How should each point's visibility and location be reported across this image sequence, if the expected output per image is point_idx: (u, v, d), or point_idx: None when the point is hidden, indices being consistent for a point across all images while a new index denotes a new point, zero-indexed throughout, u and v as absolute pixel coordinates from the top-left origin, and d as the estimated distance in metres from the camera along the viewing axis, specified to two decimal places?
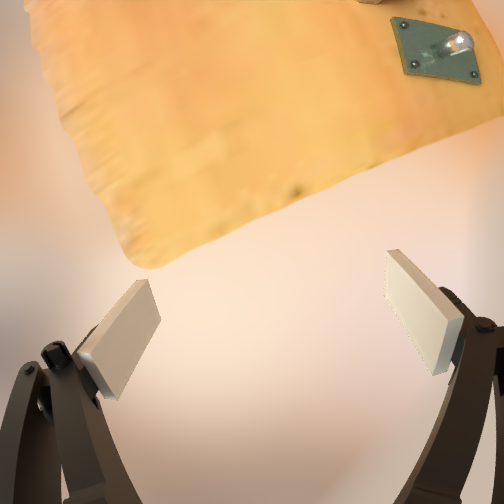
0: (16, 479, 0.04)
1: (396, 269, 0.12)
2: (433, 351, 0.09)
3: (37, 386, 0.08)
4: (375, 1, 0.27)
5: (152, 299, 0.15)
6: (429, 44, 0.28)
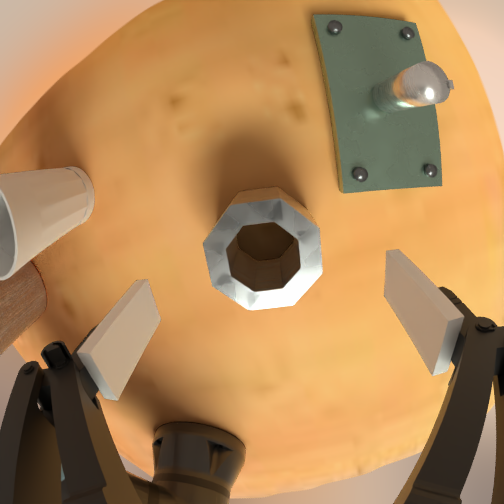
0: (16, 479, 0.04)
1: (396, 269, 0.12)
2: (433, 351, 0.09)
3: (37, 386, 0.08)
4: None
5: (152, 299, 0.15)
6: (385, 124, 0.20)
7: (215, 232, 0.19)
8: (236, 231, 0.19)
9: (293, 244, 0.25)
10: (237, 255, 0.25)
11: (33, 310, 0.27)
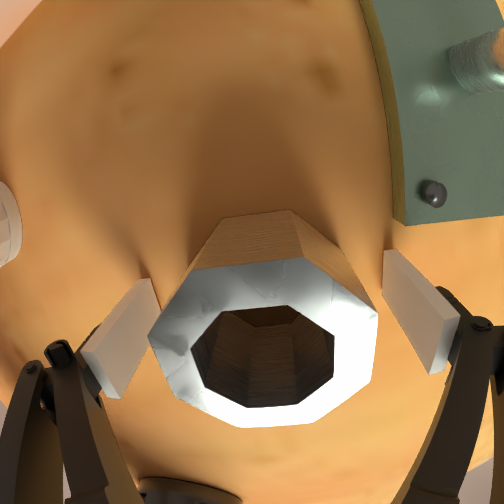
0: (18, 478, 0.04)
1: (393, 268, 0.13)
2: (430, 350, 0.09)
3: (40, 385, 0.08)
4: None
5: (154, 298, 0.15)
6: (469, 112, 0.10)
7: (167, 319, 0.09)
8: (208, 320, 0.09)
9: None
10: (222, 325, 0.14)
11: None
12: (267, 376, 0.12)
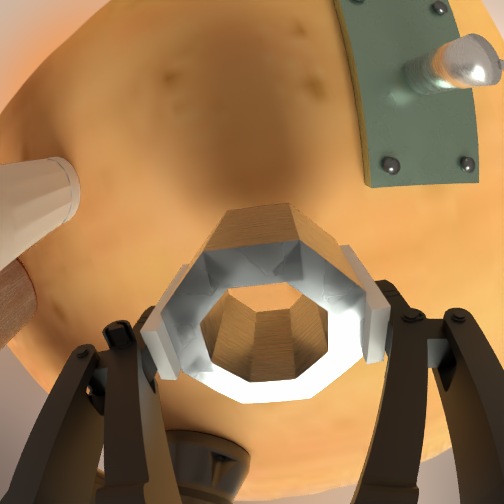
0: (46, 470, 0.04)
1: None
2: (365, 340, 0.10)
3: (89, 372, 0.09)
4: None
5: None
6: (419, 108, 0.15)
7: (179, 296, 0.11)
8: (216, 297, 0.10)
9: None
10: (226, 309, 0.16)
11: (21, 314, 0.24)
12: (268, 355, 0.14)
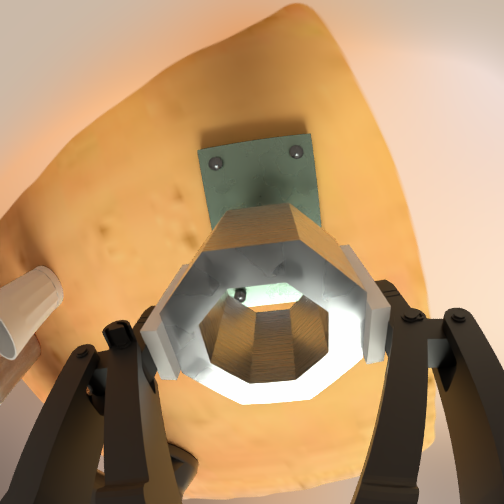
0: (46, 470, 0.04)
1: None
2: (365, 340, 0.10)
3: (89, 372, 0.09)
4: None
5: None
6: None
7: (179, 297, 0.10)
8: (215, 297, 0.10)
9: None
10: (225, 310, 0.16)
11: (31, 358, 0.34)
12: (268, 355, 0.14)
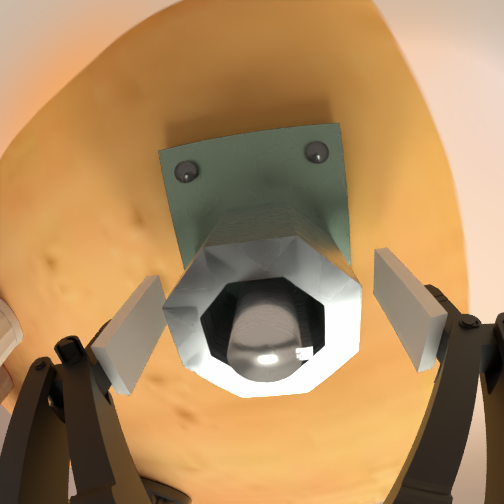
0: (22, 476, 0.04)
1: (384, 267, 0.13)
2: (418, 347, 0.09)
3: (48, 382, 0.08)
4: None
5: (163, 295, 0.16)
6: None
7: (181, 291, 0.11)
8: (216, 291, 0.11)
9: None
10: (226, 306, 0.16)
11: (2, 393, 0.25)
12: None
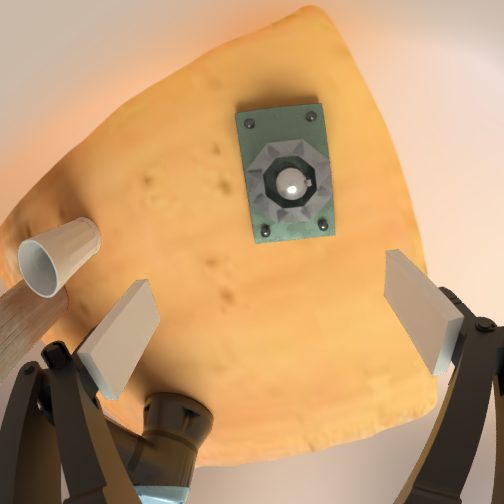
0: (16, 479, 0.04)
1: (396, 269, 0.12)
2: (433, 351, 0.09)
3: (37, 386, 0.08)
4: None
5: (152, 299, 0.15)
6: None
7: (256, 162, 0.26)
8: (271, 161, 0.26)
9: None
10: (267, 188, 0.31)
11: (59, 311, 0.41)
12: (289, 203, 0.29)
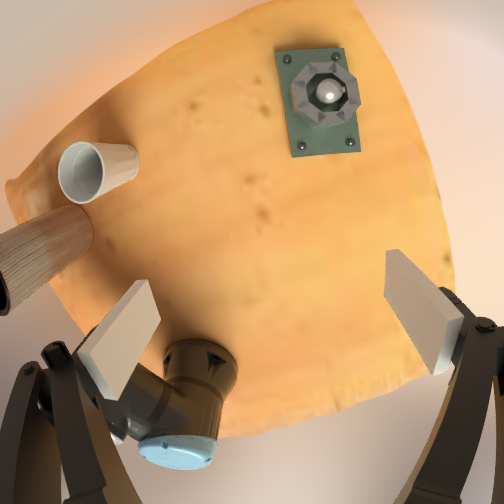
0: (16, 479, 0.04)
1: (396, 269, 0.12)
2: (433, 351, 0.09)
3: (37, 386, 0.08)
4: None
5: (152, 299, 0.15)
6: None
7: (299, 75, 0.29)
8: (311, 76, 0.29)
9: (338, 105, 0.34)
10: None
11: (84, 244, 0.43)
12: None
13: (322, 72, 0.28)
